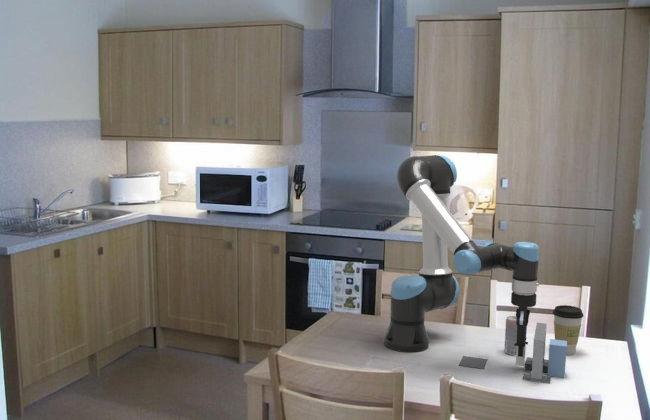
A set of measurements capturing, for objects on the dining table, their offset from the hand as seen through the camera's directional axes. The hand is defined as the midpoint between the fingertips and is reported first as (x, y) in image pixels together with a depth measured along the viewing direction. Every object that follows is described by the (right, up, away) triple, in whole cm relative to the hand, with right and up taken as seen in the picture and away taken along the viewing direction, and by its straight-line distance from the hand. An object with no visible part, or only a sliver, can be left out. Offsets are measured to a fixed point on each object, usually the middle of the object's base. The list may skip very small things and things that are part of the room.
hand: (519, 364), depth 226 cm
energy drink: (+2, +1, +15) cm, 15 cm away
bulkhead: (+5, -2, -1) cm, 6 cm away
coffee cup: (+20, +1, +17) cm, 26 cm away
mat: (-14, 0, +5) cm, 15 cm away
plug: (+7, -2, -2) cm, 8 cm away
